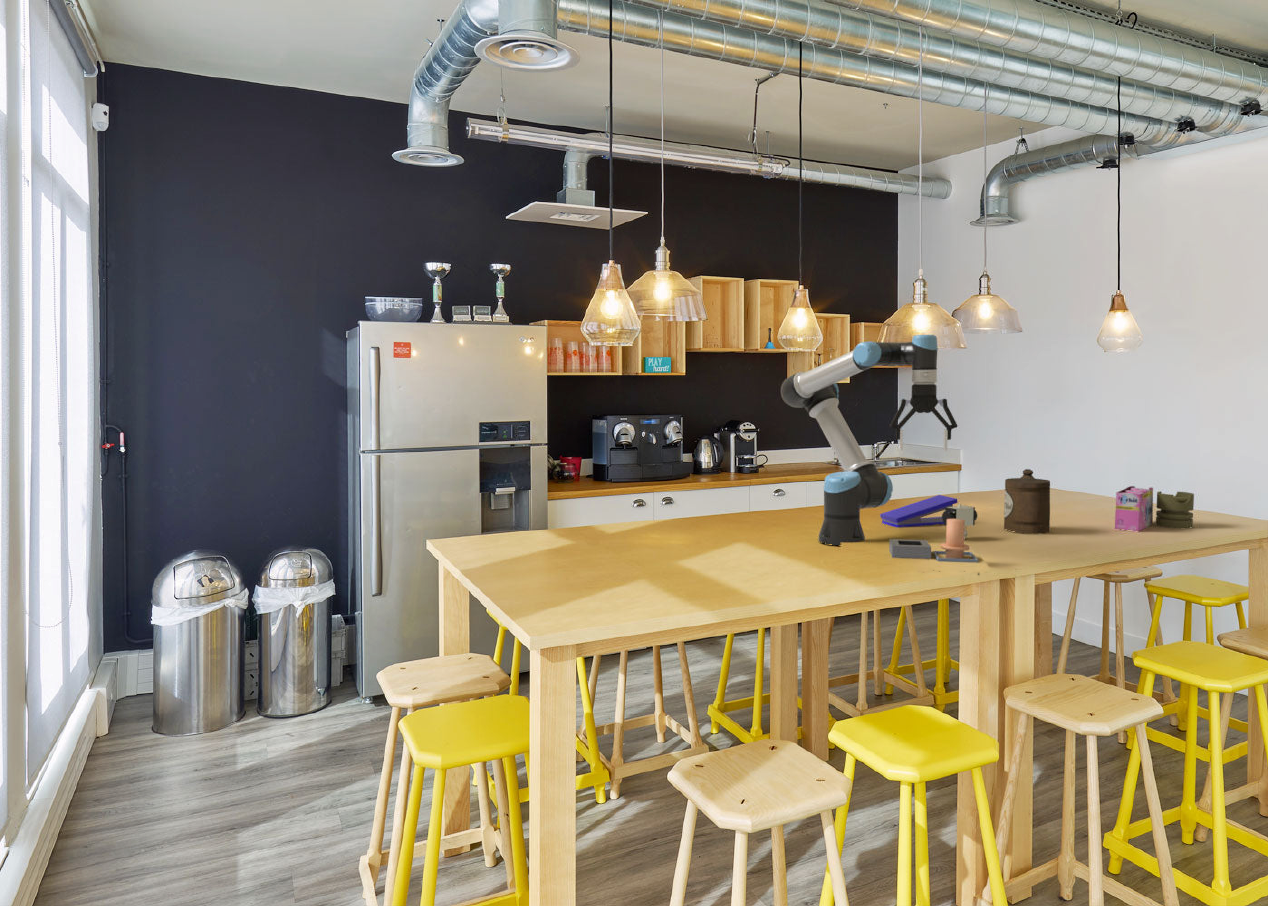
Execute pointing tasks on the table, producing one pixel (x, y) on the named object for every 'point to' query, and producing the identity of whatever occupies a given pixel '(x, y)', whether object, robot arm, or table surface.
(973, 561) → the blue-grey square frame
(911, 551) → the block
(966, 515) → the pneumatic valve
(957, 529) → the flanged copper cylinder
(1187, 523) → the piston
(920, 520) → the stapler
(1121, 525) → the gum box
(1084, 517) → the table surface
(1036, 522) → the wooden container
